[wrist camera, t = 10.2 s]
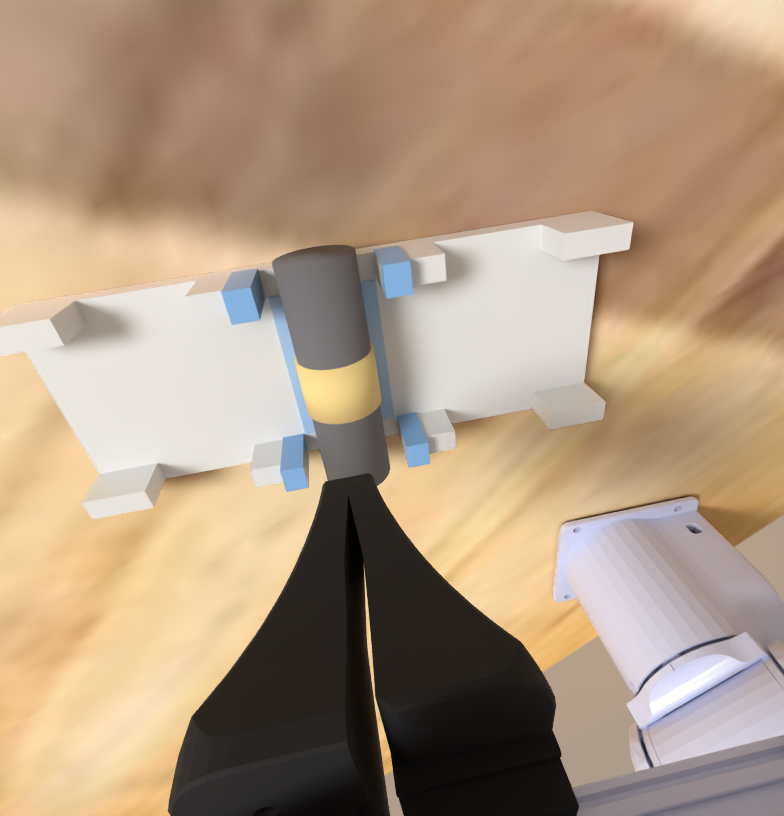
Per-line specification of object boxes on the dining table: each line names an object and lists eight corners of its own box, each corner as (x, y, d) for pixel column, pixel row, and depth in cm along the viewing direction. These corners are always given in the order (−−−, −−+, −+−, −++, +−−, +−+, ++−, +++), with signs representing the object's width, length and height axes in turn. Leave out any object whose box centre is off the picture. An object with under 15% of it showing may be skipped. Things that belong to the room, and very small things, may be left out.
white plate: (591, 208, 20) (644, 222, 17) (572, 391, 24) (609, 428, 21) (14, 301, 18) (-46, 336, 15) (117, 477, 23) (87, 530, 20)
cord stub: (272, 253, 17) (264, 275, 15) (354, 239, 18) (362, 259, 15) (324, 456, 23) (325, 500, 20) (387, 444, 23) (396, 486, 20)
